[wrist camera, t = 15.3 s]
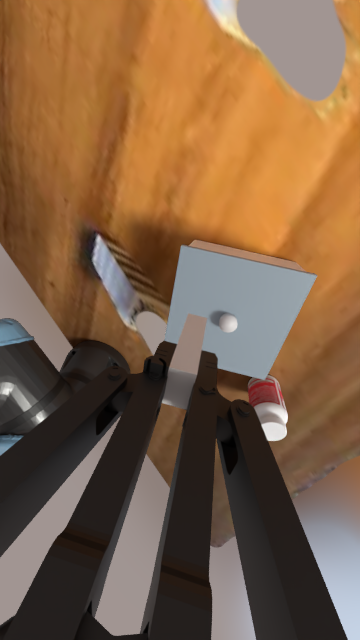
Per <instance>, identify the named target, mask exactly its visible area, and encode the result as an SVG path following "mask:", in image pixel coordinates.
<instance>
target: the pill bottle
mask: <svg viewBox="0 0 360 640" xmlns="http://www.w3.org/2000/svg"><path fill="white" fill-rule="evenodd" d="M248 394H249V403H250V404H251V405H252V406H253V407H254V409H255V411H256V413H257V415H258V418H259V420H260V423H261V425H262V428H263V430H264V433H265V435H266V438H267V440H269V441H277V440H281V439H283V438H284V437H285V436H286V434H287V430H286V422H287V420H288V415H287V411H286V407H285V404H284V400H283V396H282V393H281V389H280V385H279V383H278V381H277V380H276V379H275V378H274V377H272V376H270V375H267V377H266V379H265V380H263V379H259V378H255V377H252V378H251V379H250V381H249V382H248Z"/></svg>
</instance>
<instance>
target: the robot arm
mask: <svg viewBox="0 0 360 640" xmlns="http://www.w3.org/2000/svg"><path fill="white" fill-rule="evenodd" d="M206 322H207V318H205V317H201V316H197V315H193V314H189V313H188V316H187V318H186V321H185V324H184V327H183V330H182V332H181V335H180V338H179V341H178V344H175V343H171V342H167V341H163V342H162V343H160V344H159V346H158V348H157V350H156V352H155V354H154V356H150V357H148V358H146V360H145V362H144V369H143V372H142V373H138V374H130V369H129V366H128V364H127V362H126V360H125V359H124V357H123V356H122V355H121V354H120V353H119V352H118V351H116V350H115V349H114V348H112V347H111V346H109V345H107V344H104V343H101V342H97V341H85V342H81V343H79V344H78V345H76V346H75V347H74V348H73V349H72V350H71V351H70V352H69V353H68V355H67V357H66V359H65V361H64V363H63V365H62V368H61V370H60V372H58V371H57V369H56V368H55V367H54V365H53V364H52V363H51V361H50V360H49V359H48V357H47V356H46V355H45V354H44V352H43V351H42V350H41V348H40V347H39V346H38V345H37V343H36V342H35V341H34V337H33V336H30V334H28V332H27V331H26V330H25V329H24V327H23V326H22V325H21V324H20V323H19V322H18V321H16V320H14V319H10V318H5V319H0V557H1V556H2V555H3V553H4V552H5V551H6V550H7V549H8V548H9V546H10V545H11V544H12V543H13V542H14V541H15V539H16V538H17V537H18V536H19V535H20V534H21V532H22V531H23V530H24V529H25V528H26V526H27V525H28V524H29V523H30V522H31V521H32V519H33V518H34V517H35V516H36V515H37V513H38V512H39V511H40V510H41V509H42V508H43V506H44V505H45V504H46V503H47V501H49V499H50V498H51V497H52V496H53V495H54V493H55V492H56V491H57V490H58V489H59V488H60V486H61V485H62V484H63V483H64V482H65V481H66V479H67V478H68V477H69V476H70V474H71V473H72V472H73V471H74V470H75V469H76V468H77V466H78V465H79V464H80V463H81V461H83V459H84V458H85V457H86V456H87V454H88V453H89V452H90V451H91V450H92V449H93V448H94V446H95V445H96V444H97V443H98V441H100V439H101V438H102V437H103V436H104V435H105V433H106V432H107V431H108V430H109V429H110V428H111V426H112V425H113V424H114V423H115V422H116V421H117V419H118V418H119V417H120V416H121V415H122V416H121V418H120V420H119V422H118V424H117V426H116V428H115V430H114V432H113V434H112V436H111V438H110V440H109V442H108V444H107V446H106V448H105V450H104V452H103V454H102V456H101V458H100V460H99V462H98V464H97V466H96V468H95V470H94V473H93V474H92V476H91V478H90V480H89V482H88V484H87V486H86V489H85V490H84V492H83V494H82V496H81V498H80V501H79V503H78V504H77V506H76V508H75V511H74V513H73V515H72V517H71V519H70V521H69V523H68V525H67V526H66V528H65V529H64V531H63V532H62V533H61V534H60V535H59V536H58V537H57V538H56V539H55V541H54V542H53V544H52V546H51V547H50V549H49V551H48V553H47V555H46V557H45V559H44V561H43V562H42V564H41V566H40V568H39V570H38V572H37V574H36V576H35V578H34V580H33V582H32V584H31V586H30V588H29V590H28V592H27V594H26V596H25V598H24V600H23V602H22V604H21V606H20V607H19V609H18V611H17V613H16V615H15V616H13V617H11V618H10V619H9V620H7V621H6V622H4V623H3V624H2V625H0V640H211V626H212V590H211V586H210V582H209V557H210V539H211V520H212V501H213V482H214V462H215V443H216V438H217V443H218V449H219V454H220V459H221V464H222V469H223V474H224V479H225V484H226V489H227V494H228V499H229V504H230V509H231V514H232V519H233V524H234V529H235V534H236V539H237V544H238V549H239V554H240V560H241V565H242V570H243V575H244V580H245V585H246V590H247V595H248V600H249V605H250V610H251V615H252V620H253V625H254V630H255V635H256V640H348V639H347V637H346V634H345V632H344V630H343V627H342V624H341V622H340V619H339V617H338V614H337V612H336V609H335V607H334V604H333V602H332V599H331V597H330V594H329V592H328V589H327V587H326V584H325V582H324V579H323V577H322V575H321V572H320V569H319V567H318V564H317V562H316V560H315V557H314V555H313V552H312V550H311V547H310V545H309V542H308V540H307V537H306V535H305V532H304V530H303V527H302V525H301V522H300V520H299V517H298V515H297V512H296V510H295V507H294V505H293V503H292V500H291V497H290V495H289V492H288V490H287V487H286V485H285V482H284V480H283V477H282V475H281V472H280V470H279V467H278V465H277V462H276V460H275V457H274V455H273V453H272V450H271V448H270V445H269V443H268V440H267V438H266V435H265V433H264V430H263V428H262V425H261V423H260V420H259V418H258V415H257V413H256V411H255V409H254V407H253V406H252V405H251V404H250V403H248V402H246V401H244V400H240V399H239V400H234V401H232V402H231V401H229V400H227V399H225V398H224V397H223V396H222V395H220V393H219V392H218V390H217V386H216V384H217V367H218V358H217V356H216V354H215V353H211V352H207V351H204V350H202V344H203V339H204V333H205V327H206ZM161 403H164V404H168V405H171V406H175V407H178V408H182V409H185V410H187V412H186V415H185V418H184V422H183V425H182V427H183V429H182V433H181V438H180V443H179V448H178V453H177V458H176V463H175V468H174V473H173V478H172V483H171V488H170V493H169V498H168V503H167V508H166V513H165V517H164V523H163V527H162V532H161V537H160V542H159V547H158V552H157V557H156V562H155V567H154V572H153V577H152V582H151V586H150V591H149V595H148V599H147V603H146V608H145V612H144V617H143V621H142V626H141V631H140V634H134V635H122V636H113V635H111V634H110V633H109V632H108V631H107V630H106V629H105V628H104V627H103V626H102V625H101V624H100V623H99V622H98V621H97V620H96V619H95V618H94V617H95V614H96V611H97V608H98V605H99V601H100V598H101V595H102V591H103V587H104V584H105V580H106V577H107V573H108V570H109V567H110V564H111V560H112V557H113V554H114V551H115V548H116V545H117V542H118V539H119V536H120V532H121V529H122V526H123V523H124V520H125V517H126V514H127V511H128V508H129V504H130V501H131V498H132V495H133V492H134V489H135V486H136V483H137V480H138V476H139V474H140V470H141V467H142V464H143V461H144V458H145V455H146V452H147V449H148V446H149V443H150V440H151V436H152V433H153V430H154V427H155V424H156V421H157V418H158V415H159V412H160V407H161ZM122 413H123V414H122Z"/></svg>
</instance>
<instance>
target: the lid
mask: <svg viewBox="0 0 360 640" xmlns="http://www.w3.org/2000/svg"><path fill="white" fill-rule="evenodd" d="M316 277H317V275H316V274H314V273H309V272H305V271H300V270H296V269H291V268H287V267H282V266H278V265H273V264H269V263H264V262H260V261H255V260H251V259H246V258H242V257H237V256H233V255H228V254H224V253H219V252H215V251H210V250H206V249H201V248H197V247H192V246H188V245H183V244H182V245H181V250H180V255H179V261H178V267H177V272H176V278H175V283H174V289H173V295H172V300H171V306H170V312H169V317H168V323H167V329H166V334H165V340H164V341H167V342H171V343H175V344H178V341H179V338H180V335H181V332H182V330H183V327H184V324H185V321H186V318H187V316H188V313H189V314H193V315H197V316H201V317H205V318H207V322H206V327H205V333H204V339H203V344H202V350H204V351H207V352H211V353H215V354H216V356H217V358H218V367H217V368H219V369H223V370H227V371H231V372H235V373H239V374H243V375H247V376H251V377H255V378H259V379H263V380H265V379H266V377H267V375H268V373H269V371H270V369H271V367H272V365H273V363H274V361H275V359H276V357H277V355H278V353H279V351H280V349H281V347H282V345H283V343H284V341H285V339H286V337H287V335H288V333H289V331H290V329H291V327H292V325H293V323H294V321H295V319H296V317H297V315H298V313H299V311H300V309H301V307H302V305H303V303H304V301H305V299H306V297H307V295H308V293H309V291H310V289H311V287H312V285H313V283H314V281H315V279H316Z"/></svg>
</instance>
